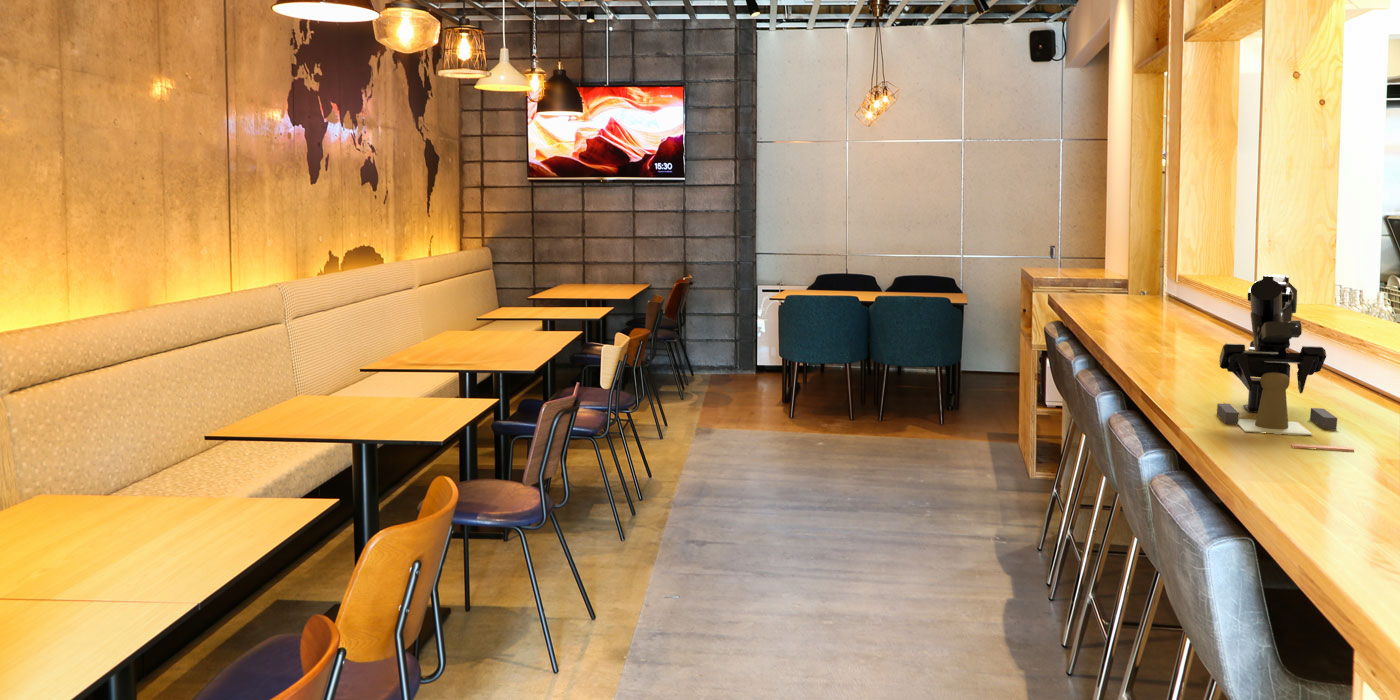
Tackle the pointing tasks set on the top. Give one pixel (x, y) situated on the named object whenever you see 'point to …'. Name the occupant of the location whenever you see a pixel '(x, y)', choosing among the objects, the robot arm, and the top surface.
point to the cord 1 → (1227, 413)
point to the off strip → (1323, 447)
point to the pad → (1292, 429)
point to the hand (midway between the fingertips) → (1275, 391)
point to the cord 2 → (1323, 418)
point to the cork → (1273, 401)
